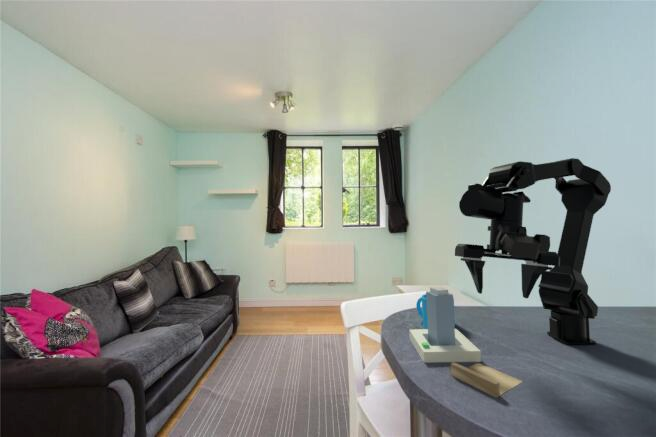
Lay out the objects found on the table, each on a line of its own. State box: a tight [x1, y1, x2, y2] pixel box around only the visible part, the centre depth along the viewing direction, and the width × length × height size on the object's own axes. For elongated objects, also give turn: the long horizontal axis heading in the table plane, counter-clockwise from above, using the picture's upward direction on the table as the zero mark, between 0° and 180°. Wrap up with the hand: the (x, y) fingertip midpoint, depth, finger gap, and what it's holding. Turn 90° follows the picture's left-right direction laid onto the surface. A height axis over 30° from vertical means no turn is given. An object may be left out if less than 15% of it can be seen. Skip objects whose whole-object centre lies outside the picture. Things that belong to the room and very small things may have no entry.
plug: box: [425, 286, 456, 346], centre depth 62 cm, size 4×4×14 cm
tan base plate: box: [450, 362, 524, 398], centre depth 50 cm, size 8×8×3 cm
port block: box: [408, 328, 482, 364], centre depth 62 cm, size 11×12×4 cm
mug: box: [415, 293, 456, 329], centre depth 79 cm, size 12×8×8 cm
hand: (502, 295), depth 60 cm, fingers open, 9 cm apart
